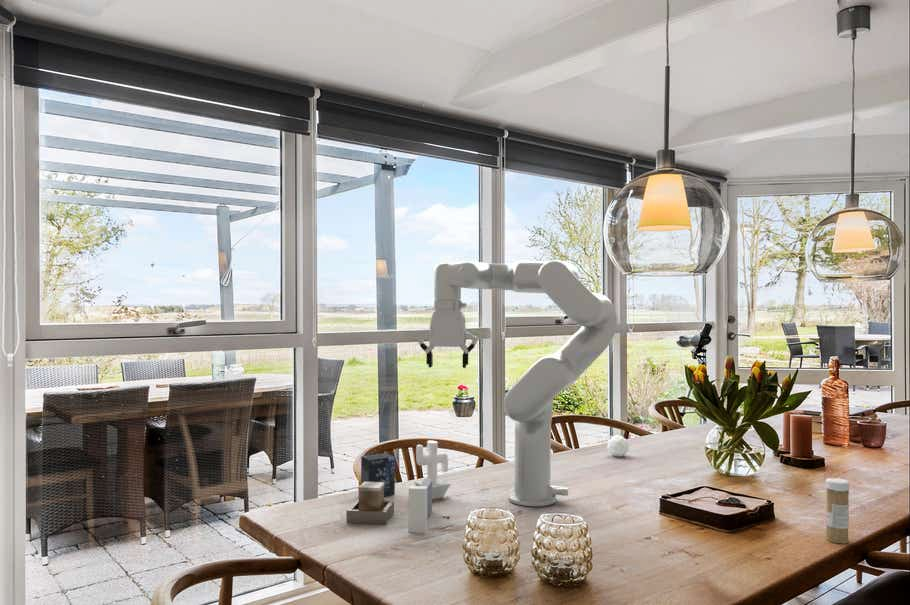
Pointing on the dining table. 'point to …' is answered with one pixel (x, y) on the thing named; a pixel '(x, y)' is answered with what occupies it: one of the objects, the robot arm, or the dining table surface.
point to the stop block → (371, 496)
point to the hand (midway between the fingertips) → (447, 367)
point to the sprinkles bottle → (837, 510)
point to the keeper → (370, 514)
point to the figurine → (433, 467)
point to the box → (379, 471)
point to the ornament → (618, 446)
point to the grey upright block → (419, 506)
